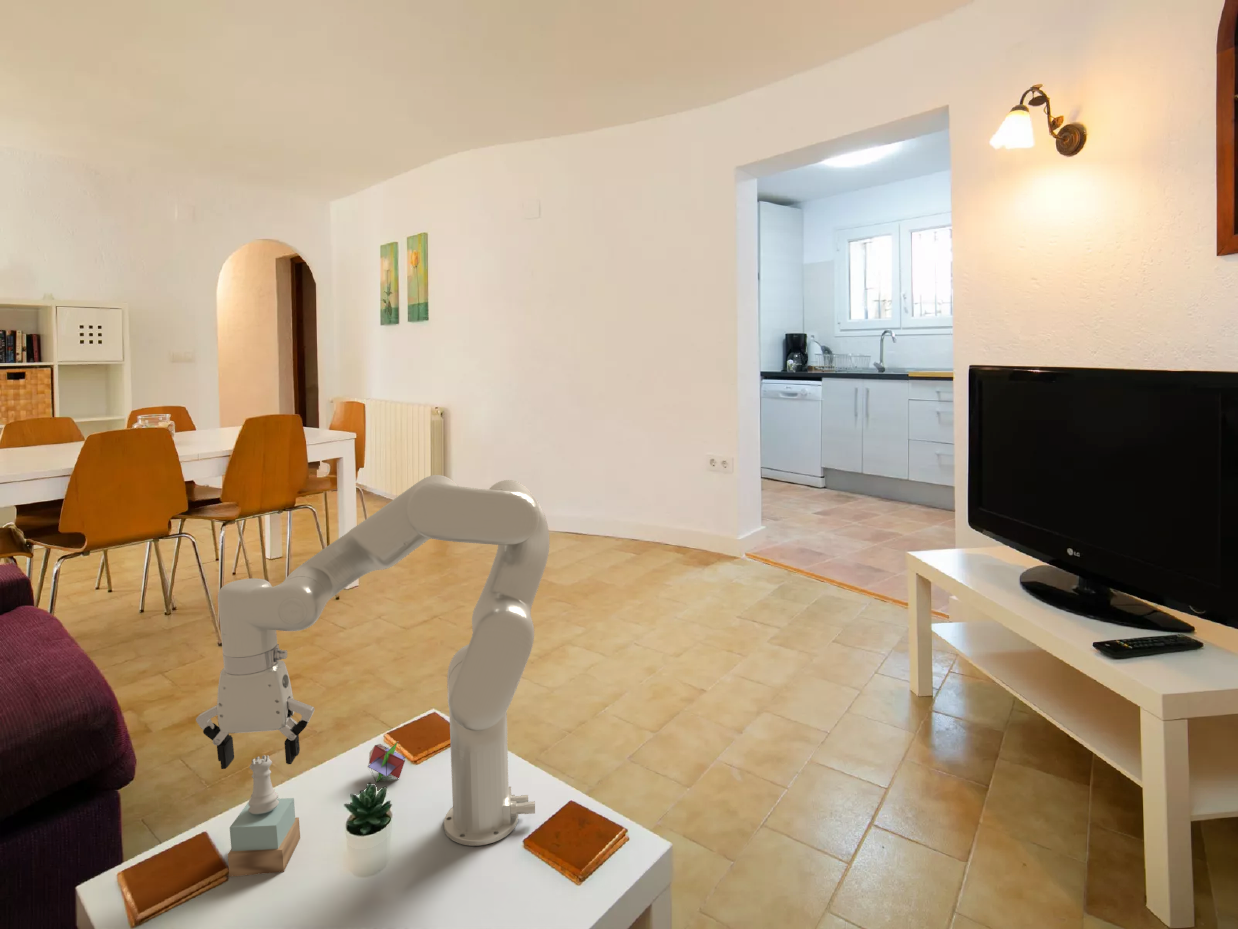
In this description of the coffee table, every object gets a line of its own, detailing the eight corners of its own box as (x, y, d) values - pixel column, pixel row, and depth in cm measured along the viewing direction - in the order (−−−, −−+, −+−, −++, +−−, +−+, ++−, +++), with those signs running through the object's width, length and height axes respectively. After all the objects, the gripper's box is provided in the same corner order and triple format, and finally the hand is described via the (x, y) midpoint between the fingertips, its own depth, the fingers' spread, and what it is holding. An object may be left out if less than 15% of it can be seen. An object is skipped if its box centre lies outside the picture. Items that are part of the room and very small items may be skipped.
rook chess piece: (267, 815, 109) (263, 764, 109) (241, 815, 110) (238, 764, 110) (285, 802, 113) (281, 752, 114) (260, 802, 114) (257, 753, 114)
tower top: (295, 820, 116) (293, 797, 115) (278, 848, 109) (276, 825, 108) (251, 822, 115) (249, 799, 114) (231, 851, 108) (229, 827, 108)
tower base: (300, 839, 117) (298, 817, 116) (283, 873, 109) (282, 849, 108) (249, 843, 116) (248, 821, 115) (229, 878, 108) (227, 854, 107)
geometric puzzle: (421, 760, 136) (397, 727, 136) (402, 780, 129) (377, 745, 130) (395, 777, 138) (372, 744, 138) (376, 798, 131) (351, 763, 131)
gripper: (316, 646, 113) (323, 745, 115) (203, 652, 111) (213, 753, 113) (301, 666, 106) (309, 771, 108) (179, 673, 104) (190, 779, 106)
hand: (260, 761), depth 111 cm, fingers open, 9 cm apart
